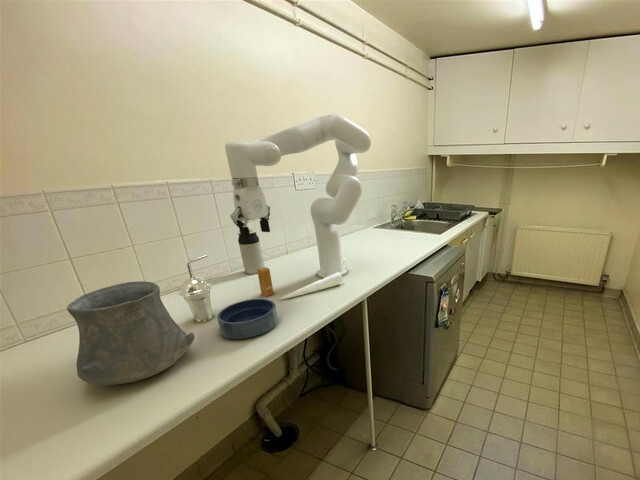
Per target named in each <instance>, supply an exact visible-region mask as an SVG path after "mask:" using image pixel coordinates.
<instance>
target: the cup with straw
mask: <svg viewBox="0 0 640 480" xmlns="http://www.w3.org/2000/svg"><path fill="white" fill-rule="evenodd" d="M206 258H208V255H207V254H204V255H202V256H201V255H200V256H198V257H196V258H192V259H190V260H188V261H187V262H186V268H187V271H188V275H189V277H188V278H187V279H185V280H184V281H183V282H182V284H181V286H180V289H179V290H178V295H179V296H180V297H183V299H184V300H185V302H186V303H187V306H188V308H189V309H190V312H191V314H192V316H193V318H194V319H195V322H197V323H203V322H207V321H209V320H211V319H212V318H213V315H212V314H213V311H212V301H211V290H212V289H213V286H212V284H211V283H209V282H207V280H206V279H204V278H203V277H199V276H194V275H193V272H192V269H191V268H192V267H191V263H194V262H197V261H200V260H203V259H206Z"/></svg>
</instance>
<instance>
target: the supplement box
mask: <svg viewBox="0 0 640 480" xmlns="http://www.w3.org/2000/svg"><path fill="white" fill-rule="evenodd" d="M257 271H258V273H257V276H258V282H259V289H260V294H261V296H264V297H269V296H271V295H274V293H275V292H274V287H273V282H272V276H271V269H270V268H269V267H263V268H259V269H257Z"/></svg>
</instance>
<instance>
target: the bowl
mask: <svg viewBox="0 0 640 480" xmlns="http://www.w3.org/2000/svg"><path fill="white" fill-rule="evenodd" d="M216 320H217V323H218V328H219V331H220V334H221V335H222V336H223V337H225V338H226V339H232V340H245V339H250V338H253V337H257V336H260V335H263V334H264V333H265V334H266V332H269V331H270V330H272V329H273V328H274V327H276V325H277V324H278V322H279V316H278V310H277V305H276V302H274V301H273V300H271V299H268V298H251V299H245V300H240V301H237V302H235V303H232V304H229V305H227V306H226V307H224V308H222V309H221V310H220V311H219V312H218V313H217V315H216Z"/></svg>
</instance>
